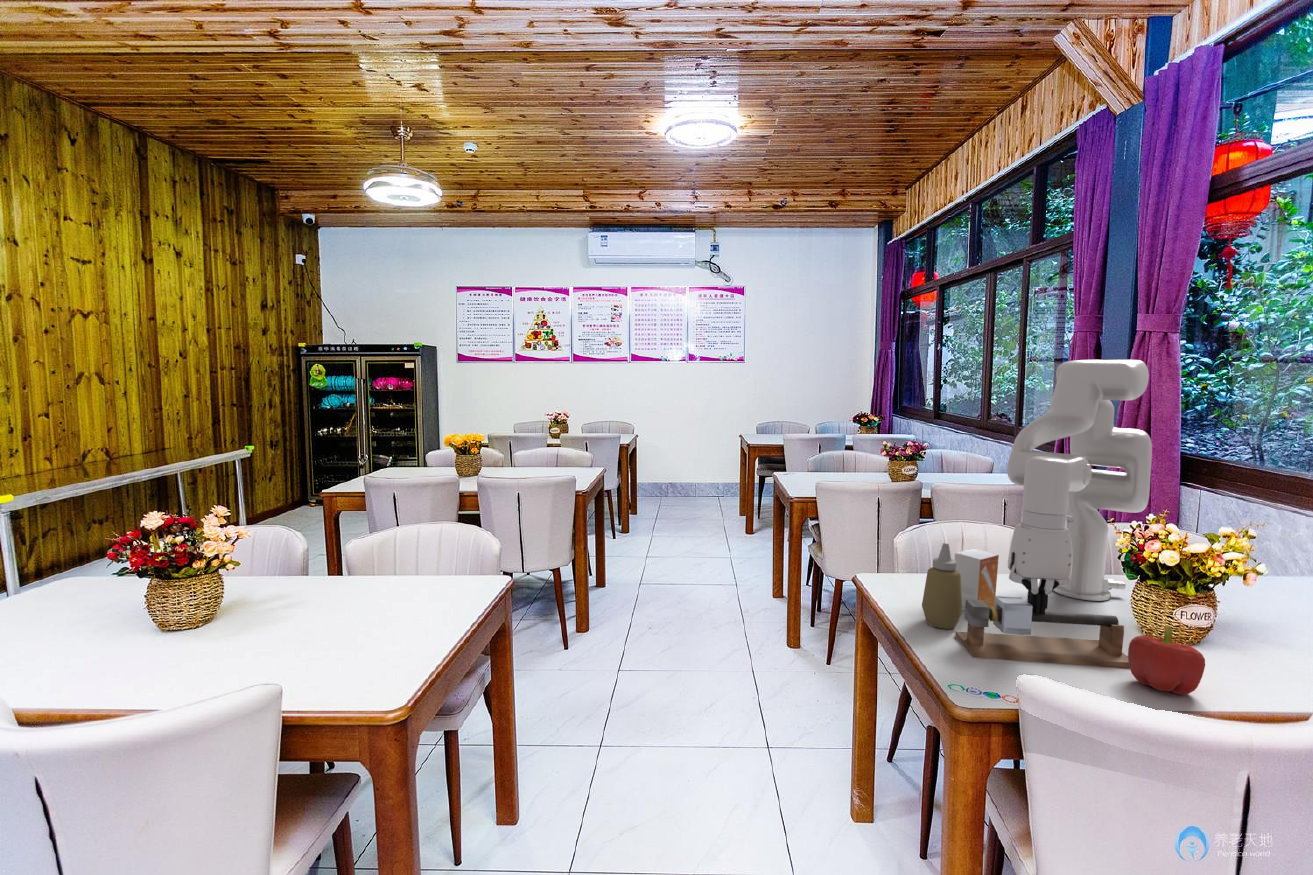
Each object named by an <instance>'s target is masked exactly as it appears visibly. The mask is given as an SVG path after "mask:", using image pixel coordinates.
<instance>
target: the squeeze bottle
mask: <svg viewBox="0 0 1313 875" xmlns="http://www.w3.org/2000/svg"><path fill="white" fill-rule="evenodd" d="M956 565H957V562H956V561H955V559H952V554H951V548H950V545H949V543H945V542H944V543H942V545H941V549H940V552H939V555H938V557H934V558H933V559H932V567H929V568H928V570H927V573H926V577H925V584H924V590H923V596H922V602H921V606H922V611H923V615H924V617H925V622H926V623H927V624H928V625H930V626H932V627H934V628H938V629H944V630H945V629H946V630H947V629H948V630H951V629H955V628H956V626H957V624H958V623H959V620H960V617H961V615H962V614H963V610H962V591H961V574H960V573H959V572H958V571H957V570H956Z"/></svg>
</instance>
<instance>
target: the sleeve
mask: <svg viewBox="0 0 1313 875" xmlns="http://www.w3.org/2000/svg"><path fill="white" fill-rule="evenodd" d="M994 607H995V608H996V609H1003V610H1002V620H997V621H996V622H995V621H992V624H993V625H994V626H995V627H996V628H997V630H999V631H1000V633H1001V634H1007V635H1023V636H1032V635H1031V632H1032V623H1033V622H1032V608H1033V606H1032V605H1030V604H1029V603H1028V602H1027V600H1025V599H1024V598H1022V597H1021V596H1019V597H1017V596H1015V597H1014V596H1004V595H1003V596H999V595H996V596H995V603H994Z"/></svg>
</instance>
